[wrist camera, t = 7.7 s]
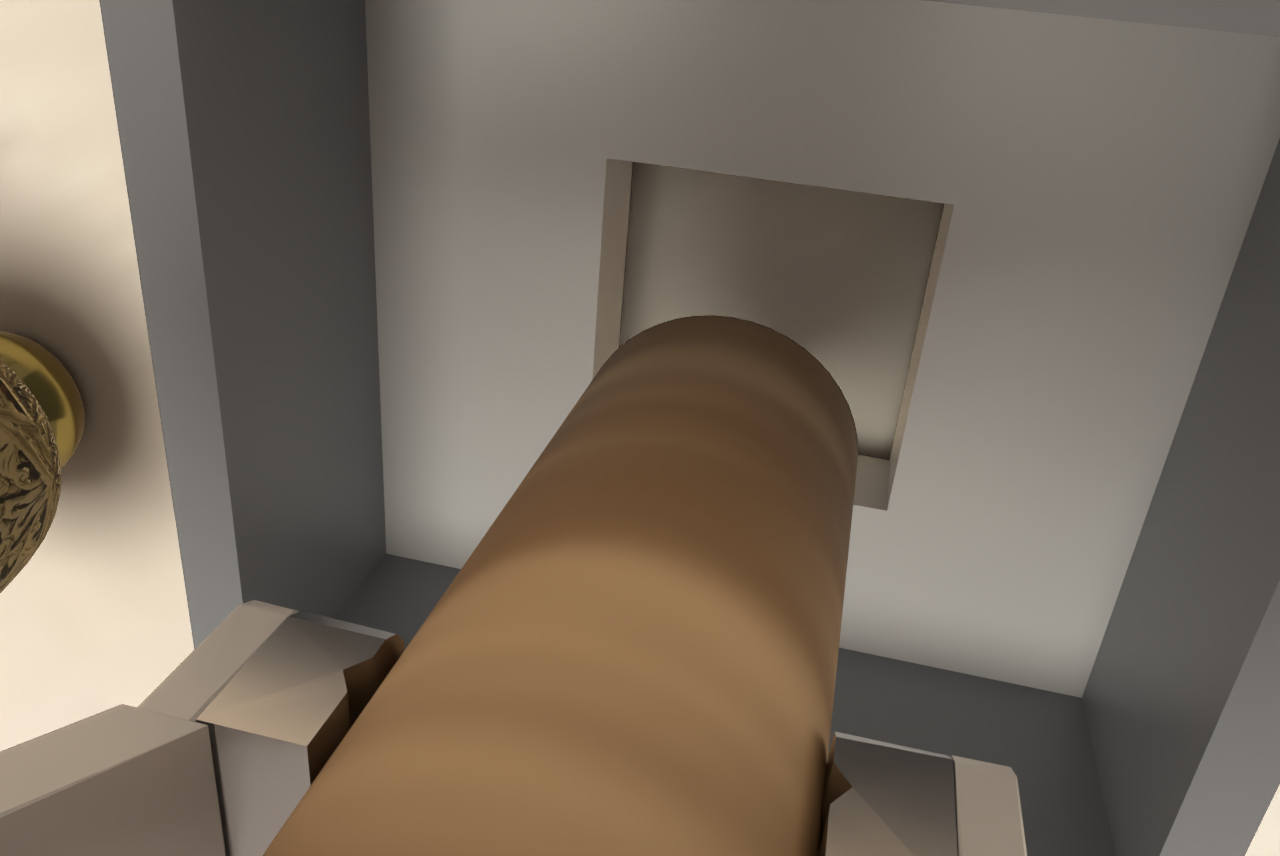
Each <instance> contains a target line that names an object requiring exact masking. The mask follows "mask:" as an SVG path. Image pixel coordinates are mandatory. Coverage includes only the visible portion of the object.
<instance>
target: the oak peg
mask: <svg viewBox="0 0 1280 856" xmlns="http://www.w3.org/2000/svg"><path fill="white" fill-rule="evenodd" d="M857 462H858V440H857V434H856V428H855V423H854V420H853V417H852V414H851V411H850V408H849V405H848V403H847V401H846V399H845V397H844V395H843V393H842V391H841V389H840V388H839V386H838V385H837V383H836V382H835V380H834V379H833V377H832V376H831V374H830V373H829V372H828V371H827V370H826V369H825V368H824V366H823V365H822V364H821V363H820V362H819V361H818V360H817V359H816V358H815V357H814V356H812V355H811V354H810V353H809V352H808V351H807V350H806V349H804V348H803V347H802V346H800V345H799V344H797V343H796V342H794V341H793V340H791V339H790V338H788V337H787V336H785V335H783V334H781V333H779V332H777V331H775V330H773V329H771V328H768V327H765V326H762V325H760V324H757V323H754V322H751V321H747V320H742V319H738V318H733V317H724V316H692V317H685V318H679V319H674V320H671V321H667V322H664V323H661V324H658V325H655V326H653V327H651V328H649V329H647V330H644V331H642V332H641V333H639V334H637V335H636V336H634V337H633V338H631V339H629V340H628V341H626V342H625V343H624V344H623V345H622V346H621V347H619V348H618V349H617V350H616V351H615V352H614V353H613V354H612V355H611V356H610V357H609V358H608V360H607V361H606V362H605V363H604V364H603V365H602V367H601V368H600V370H599V371H598V373H597V374H596V376H595V377H594V378H593V380H592V381H591V383H590V384H589V386H588V387H587V389H586V390H585V391H584V393H583V394H582V396H581V397H580V399H579V400H578V401H577V403H576V404H575V406H574V407H573V409H572V410H571V412H570V413H569V414H568V416H567V417H566V419H565V420H564V422H563V423H562V425H561V426H560V427H559V429H558V430H557V432H556V433H555V435H554V436H553V437H552V439H551V440H550V442H549V443H548V445H547V446H546V448H545V449H544V450H543V452H542V453H541V455H540V456H539V458H538V459H537V461H536V462H535V463H534V465H533V466H532V468H531V469H530V471H529V472H528V473H527V475H526V476H525V478H524V479H523V481H522V482H521V484H520V485H519V486H518V488H517V489H516V491H515V492H514V494H513V495H512V497H511V498H510V499H509V501H508V502H507V504H506V505H505V507H504V508H503V510H502V511H501V512H500V514H499V515H498V517H497V518H496V520H495V521H494V522H493V524H492V525H491V527H490V528H489V530H488V531H487V533H486V534H485V535H484V537H483V538H482V540H481V541H480V543H479V544H478V546H477V547H476V548H475V550H474V551H473V553H472V554H471V556H470V557H469V558H468V560H467V561H466V563H465V564H464V566H463V567H462V569H461V570H460V571H459V573H458V574H457V576H456V577H455V579H454V580H453V582H452V583H451V584H450V586H449V587H448V589H447V590H446V592H445V593H444V594H443V596H442V597H441V599H440V600H439V602H438V603H437V605H436V606H435V607H434V609H433V610H432V612H431V613H430V615H429V616H428V618H427V619H426V620H425V622H424V623H423V625H422V626H421V628H420V629H419V630H418V632H417V633H416V635H415V636H414V638H413V639H412V641H411V642H410V643H409V645H408V646H407V648H406V649H405V651H404V652H403V654H402V655H401V656H400V658H399V659H398V661H397V662H396V664H395V665H394V666H393V668H392V669H391V671H390V672H389V674H388V675H387V677H386V678H385V679H384V681H383V682H382V684H381V685H380V687H379V688H378V690H377V691H376V692H375V694H374V695H373V697H372V698H371V700H370V701H369V702H368V704H367V705H366V707H365V708H364V710H363V711H362V713H361V714H360V715H359V717H358V718H357V720H356V721H355V723H354V724H353V726H352V727H351V728H350V730H349V731H348V733H347V734H346V736H345V737H344V738H343V740H342V741H341V743H340V744H339V746H338V747H337V749H336V750H335V751H334V753H333V754H332V756H331V757H330V759H329V760H328V762H327V763H326V764H325V766H324V767H323V769H322V770H321V772H320V773H319V774H318V776H317V777H316V779H315V780H314V782H313V783H312V785H311V786H310V787H309V789H308V790H307V792H306V793H305V795H304V796H303V798H302V799H301V800H300V802H299V803H298V805H297V806H296V808H295V809H294V811H293V812H292V813H291V815H290V816H289V818H288V819H287V821H286V822H285V823H284V825H283V826H282V828H281V829H280V831H279V832H278V834H277V835H276V836H275V838H274V839H273V841H272V842H271V844H270V845H269V847H268V848H267V849H266V851H265V852H264V854H263V855H262V856H818V852H819V842H820V832H821V811H822V802H823V792H824V783H825V774H826V764H827V760H828V752H829V742H830V732H831V722H832V712H833V702H834V692H835V682H836V672H837V662H838V652H839V642H840V632H841V622H842V612H843V602H844V592H845V582H846V572H847V562H848V552H849V542H850V532H851V522H852V512H853V502H854V492H855V482H856V472H857Z"/></svg>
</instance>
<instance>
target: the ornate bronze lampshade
mask: <svg viewBox="0 0 1280 856" xmlns="http://www.w3.org/2000/svg"><path fill="white" fill-rule="evenodd" d="M84 426H85V412H84V406H83V401H82V398H81V395H80V392H79V390H78V388H77V386H76V384H75V382H74V380H73V378H72V377H71V375H70V374H69V372H68V371H67V370H66V368H65V367H64V366H63V365H62V364H61V363H60V361H59V360H58V359H57V358H56V357H55V356H54V355H52V354H51V353H50V352H49V351H48V350H46V349H45V348H43V347H42V346H41V345H39V344H37V343H36V342H34V341H32V340H30V339H28V338H26V337H23V336H21V335H18V334H14V333H10V332H4V331H0V593H1V592H2V591H3V590H4V589H5V588H6V587H7V586H8V584H9V583H10V582H11V581H12V580H13V579H14V578H15V577H16V576H17V574H18V573H19V572H20V571H21V570H22V569H23V568H24V566H25V565H26V564H27V563H28V561H29V560H30V559H31V557H32V556H33V555H34V553H35V552H36V550H37V549H38V548H39V546H40V544H41V543H42V541H43V540H44V538H45V536H46V534H47V532H48V530H49V528H50V526H51V523H52V521H53V519H54V516H55V513H56V509H57V505H58V501H59V496H60V491H61V468H63V467H64V466H65V465H66V464H67V463H68V462H69V460H70V459H71V457H72V456H73V454H74V452H75V451H76V449H77V447H78V445H79V443H80V441H81V438H82V436H83V432H84Z"/></svg>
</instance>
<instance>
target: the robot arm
mask: <svg viewBox="0 0 1280 856" xmlns="http://www.w3.org/2000/svg"><path fill="white" fill-rule="evenodd" d="M404 651H405V647H404V641H403V640H402V639H401V638H400V637H399V636H398V635H397V634H394V633H390V632H386V631H382V630H378V629H374V628H370V627H366V626H362V625H358V624H354V623H350V622H346V621H342V620H338V619H334V618H330V617H326V616H321V615H317V614H313V613H309V612H305V611H300V612H299V611H296V610H293V609H289V608H285V607H281V606H277V605H273V604H269V603H265V602H261V601H257V600H252V601H249V602H246V603H243V604H240V605H239V606H238V607H236V608H235V609H234V610H233V611H232V612H231V613H230V614H229V615H228V616H227V617H226V619H225V620H224V621H223V622H222V623H221V624H220V625H219V626H218V627H217V628H216V629H215V630H214V631H213V632H212V633H211V634H210V635H209V636H208V637H207V638H206V639H205V640H204V641H203V642H202V643H201V644H200V645H199V646H198V647H197V648H196V649H195V650H194V651H193V652H192V653H191V654H190V655H189V656H188V657H187V658H186V659H185V660H184V661H183V662H182V663H181V664H180V665H179V666H178V667H177V668H176V669H175V670H174V671H173V672H172V673H171V674H170V675H169V676H168V677H167V678H166V679H165V680H164V681H163V682H162V683H161V684H160V685H159V686H158V687H157V688H156V689H155V690H154V691H153V692H152V693H151V694H150V695H149V696H148V697H147V698H146V699H145V700H144V701H143V702H142V703H141V704H140V705H139V706H138V707H132V706H128V705H124V704H121V705H119V706H116V707H114V708H111V709H109V710H106V711H103V712H101V713H98V714H96V715H93V716H91V717H88V718H85V719H83V720H80V721H78V722H75V723H73V724H70V725H67V726H65V727H62V728H60V729H57V730H55V731H52V732H50V733H47V734H44V735H42V736H39V737H37V738H34V739H32V740H29V741H26V742H24V743H21V744H19V745H16V746H14V747H11V748H8V749H6V750H3V751H1V752H0V856H262V855H263V854H264V852H265V851H266V849H267V848H268V847H269V845H270V844H271V842H272V841H273V839H274V838H275V836H276V835H277V834H278V832H279V831H280V829H281V828H282V826H283V825H284V823H285V822H286V821H287V819H288V818H289V816H290V815H291V813H292V812H293V811H294V809H295V808H296V806H297V805H298V803H299V802H300V800H301V799H302V798H303V796H304V795H305V793H306V792H307V790H308V789H309V787H310V786H311V785H312V783H313V782H314V780H315V779H316V777H317V776H318V774H319V773H320V772H321V770H322V769H323V767H324V766H325V764H326V763H327V762H328V760H329V759H330V757H331V756H332V754H333V753H334V751H335V750H336V749H337V747H338V746H339V744H340V743H341V741H342V740H343V738H344V737H345V736H346V734H347V733H348V731H349V730H350V728H351V727H352V726H353V724H354V723H355V721H356V720H357V718H358V717H359V715H360V714H361V713H362V711H363V710H364V708H365V707H366V705H367V704H368V702H369V701H370V700H371V698H372V697H373V695H374V694H375V692H376V691H377V690H378V688H379V687H380V685H381V684H382V682H383V681H384V679H385V678H386V677H387V675H388V674H389V672H390V671H391V669H392V668H393V666H394V665H395V664H396V662H397V661H398V659H399V658H400V656H401V655H402V654H403V652H404ZM818 856H1027V850H1026V842H1025V835H1024V827H1023V819H1022V811H1021V804H1020V796H1019V788H1018V780H1017V776H1016V774H1015V773H1014V771H1013V770H1012V768H1011V767H1008V766H1003V765H998V764H993V763H988V762H983V761H978V760H973V759H968V758H963V757H958V756H953V755H952V756H951V757H949V756H947V755H943V754H938V753H934V752H929V751H924V750H920V749H915V748H910V747H906V746H901V745H896V744H892V743H887V742H882V741H878V740H873V739H869V738H864V737H859V736H855V735H850V734H845V733H841V732H836V731H835V732H834V736H833V739H832V742H831V747H830V751H829V755H828V760H827V764H826V774H825V783H824V792H823V802H822V811H821V832H820V842H819V852H818Z"/></svg>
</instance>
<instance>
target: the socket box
mask: <svg viewBox="0 0 1280 856" xmlns="http://www.w3.org/2000/svg"><path fill="white" fill-rule="evenodd" d="M100 7H101V14H102V21H103V28H104V35H105V41H106V48H107V55H108V62H109V69H110V76H111V82H112V89H113V96H114V103H115V110H116V117H117V123H118V130H119V137H120V144H121V151H122V158H123V164H124V171H125V178H126V185H127V192H128V198H129V205H130V212H131V219H132V226H133V233H134V239H135V246H136V253H137V260H138V267H139V274H140V280H141V287H142V294H143V301H144V308H145V315H146V321H147V328H148V335H149V342H150V349H151V356H152V362H153V369H154V376H155V383H156V390H157V397H158V403H159V410H160V417H161V424H162V431H163V438H164V444H165V451H166V458H167V465H168V472H169V479H170V485H171V492H172V499H173V506H174V513H175V520H176V526H177V533H178V540H179V547H180V554H181V560H182V567H183V574H184V581H185V588H186V595H187V601H188V608H189V615H190V622H191V629H192V636H193V642H194V649H196V648H197V647H198V646H199V645H200V644H201V643H202V642H203V641H204V640H205V639H206V638H207V637H208V636H209V635H210V634H211V633H212V632H213V631H214V630H215V629H216V628H217V627H218V626H219V625H220V624H221V623H222V622H223V621H224V620H225V619H226V617H227V616H228V615H229V614H230V613H231V612H232V611H233V610H234V609H235V608H236V607H238V606H239V605H240V604H243V603H246V602H249V601H252V600H257V601H261V602H265V603H269V604H273V605H277V606H281V607H285V608H289V609H293V610H296V611H299V612H300V611H305V612H309V613H313V614H317V615H321V616H326V617H330V618H334V619H338V620H342V621H346V622H350V623H354V624H358V625H362V626H366V627H370V628H374V629H378V630H382V631H386V632H390V633H394V634H397V635H398V636H399V637H400V638H401V639H402V640H403V641H404V647H405V649H406V648H407V646H408V645H409V643H410V642H411V641H412V639H413V638H414V636H415V635H416V633H417V632H418V630H419V629H420V628H421V626H422V625H423V623H424V622H425V620H426V619H427V618H428V616H429V615H430V613H431V612H432V610H433V609H434V607H435V606H436V605H437V603H438V602H439V600H440V599H441V597H442V596H443V594H444V593H445V592H446V590H447V589H448V587H449V586H450V584H451V583H452V582H453V580H454V579H455V577H456V576H457V574H458V573H459V571H460V570H461V569H462V567H463V566H464V564H465V563H466V561H467V560H468V558H469V557H470V556H471V554H472V553H473V551H474V550H475V548H476V547H477V546H478V544H479V543H480V541H481V540H482V538H483V537H484V535H485V534H486V533H487V531H488V530H489V528H490V527H491V525H492V524H493V522H494V521H495V520H496V518H497V517H498V515H499V514H500V512H501V511H502V510H503V508H504V507H505V505H506V504H507V502H508V501H509V499H510V498H511V497H512V495H513V494H514V492H515V491H516V489H517V488H518V486H519V485H520V484H521V482H522V481H523V479H524V478H525V476H526V475H527V473H528V472H529V471H530V469H531V468H532V466H533V465H534V463H535V462H536V461H537V459H538V458H539V456H540V455H541V453H542V452H543V450H544V449H545V448H546V446H547V445H548V443H549V442H550V440H551V439H552V437H553V436H554V435H555V433H556V432H557V430H558V429H559V427H560V426H561V425H562V423H563V422H564V420H565V419H566V417H567V416H568V414H569V413H570V412H571V410H572V409H573V407H574V406H575V404H576V403H577V401H578V400H579V399H580V397H581V396H582V394H583V393H584V391H585V390H586V389H587V387H588V386H589V384H590V383H591V381H592V380H593V378H594V377H595V376H596V374H597V373H598V371H599V370H600V368H601V367H602V365H603V364H604V363H605V362H606V361H607V360H608V358H609V357H610V356H611V355H612V354H613V353H614V352H615V351H616V350H617V349H618V348H619V339H620V325H621V312H622V299H623V286H624V272H625V259H626V246H627V232H628V219H629V206H630V193H631V179H632V166H633V162H638V163H646V164H653V165H661V166H668V167H676V168H683V169H691V170H698V171H706V172H713V173H720V174H728V175H735V176H743V177H750V178H758V179H765V180H773V181H780V182H787V183H795V184H802V185H810V186H817V187H825V188H832V189H840V190H847V191H855V192H862V193H869V194H877V195H884V196H892V197H899V198H907V199H914V200H922V201H929V202H936V203H944V208H943V212H942V217H941V222H940V226H939V231H938V236H937V240H936V245H935V249H934V254H933V259H932V263H931V268H930V273H929V277H928V282H927V287H926V291H925V296H924V301H923V305H922V310H921V315H920V319H919V324H918V329H917V333H916V338H915V343H914V347H913V352H912V357H911V361H910V366H909V371H908V375H907V380H906V384H905V389H904V394H903V398H902V403H901V408H900V412H899V417H898V422H897V426H896V431H895V436H894V440H893V445H892V450H891V454H890V459H889V460H886V459H881V458H875V457H869V456H863V455H858V462H857V472H856V482H855V492H854V502H853V512H852V522H851V532H850V542H849V552H848V562H847V572H846V582H845V592H844V602H843V612H842V622H841V632H840V642H839V652H838V662H837V672H836V682H835V692H834V702H833V712H832V722H831V732H830V742H829V751H830V747H831V742H832V739H833V736H834V732H835V731H836V732H841V733H845V734H850V735H855V736H859V737H864V738H869V739H873V740H878V741H882V742H887V743H892V744H896V745H901V746H906V747H910V748H915V749H920V750H924V751H929V752H934V753H938V754H943V755H947V756H949V757H951V756H952V755H953V756H958V757H963V758H968V759H973V760H978V761H983V762H988V763H993V764H998V765H1003V766H1008V767H1011V768H1012V770H1013V771H1014V773H1015V774H1016V776H1017V780H1018V788H1019V796H1020V804H1021V811H1022V819H1023V827H1024V835H1025V842H1026V850H1027V856H1245V854H1246V852H1247V850H1248V847H1249V845H1250V843H1251V841H1252V839H1253V837H1254V835H1255V833H1256V831H1257V829H1258V827H1259V825H1260V823H1261V821H1262V819H1263V817H1264V815H1265V813H1266V811H1267V809H1268V807H1269V805H1270V803H1271V800H1272V798H1273V796H1274V794H1275V792H1276V790H1277V788H1278V786H1279V784H1280V0H100ZM828 755H829V752H828Z"/></svg>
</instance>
